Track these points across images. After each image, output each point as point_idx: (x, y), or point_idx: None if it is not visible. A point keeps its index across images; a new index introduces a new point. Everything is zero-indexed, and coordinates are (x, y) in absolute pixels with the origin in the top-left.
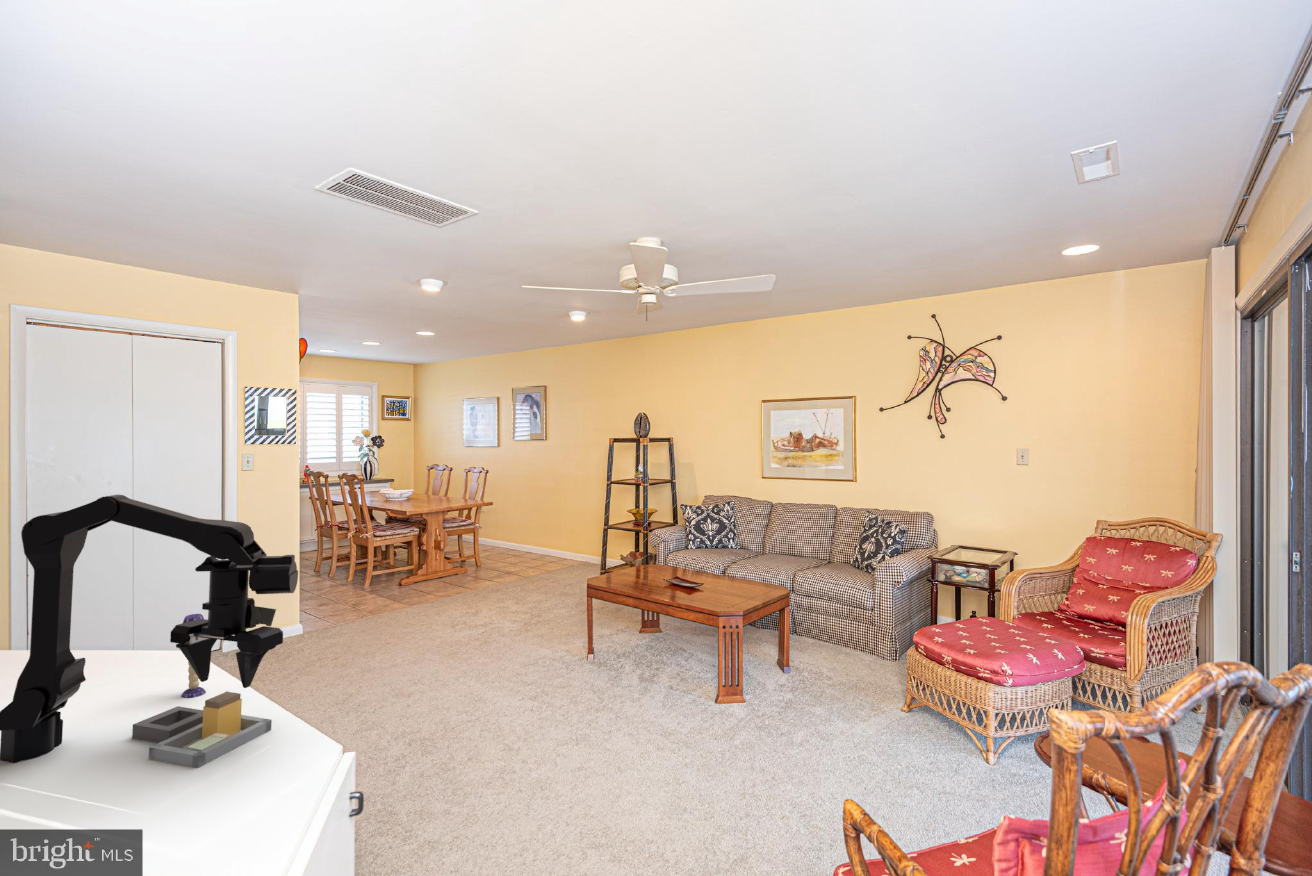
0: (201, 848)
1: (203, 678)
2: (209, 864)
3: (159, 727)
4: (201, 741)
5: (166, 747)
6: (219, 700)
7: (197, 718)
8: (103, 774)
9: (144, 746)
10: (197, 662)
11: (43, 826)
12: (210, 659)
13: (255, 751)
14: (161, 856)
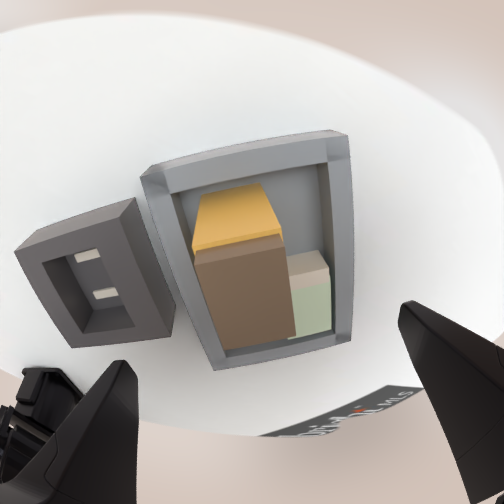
0: None
1: (133, 387)
2: None
3: (129, 337)
4: None
5: (248, 358)
6: (273, 326)
7: (138, 267)
8: (195, 383)
9: None
10: (130, 483)
11: (281, 426)
12: (82, 442)
13: (376, 216)
14: None
